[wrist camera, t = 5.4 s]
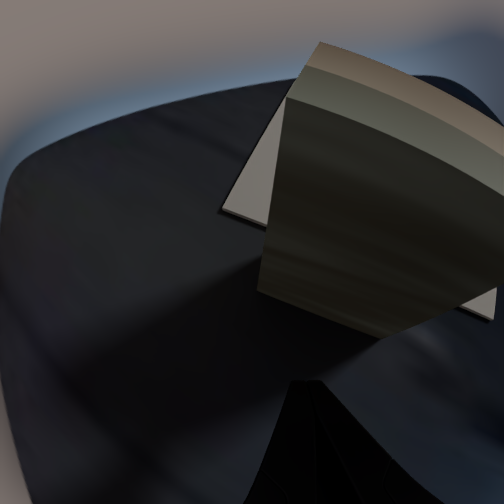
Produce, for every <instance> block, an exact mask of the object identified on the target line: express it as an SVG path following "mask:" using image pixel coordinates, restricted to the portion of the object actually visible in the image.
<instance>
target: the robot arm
mask: <svg viewBox="0 0 504 504" xmlns="http://www.w3.org/2000/svg"><path fill="white" fill-rule="evenodd" d="M391 459H392V457H391V456H390V455H389V454H388V453H387V452H386V451H385V450H384V448H383V447H382V446H381V445H380V444H379V443H378V442H377V441H376V440H375V439H374V438H373V437H372V436H371V435H370V434H369V432H368V431H367V430H366V429H365V428H364V427H363V426H362V425H361V424H360V423H359V422H358V421H357V419H356V418H355V417H354V416H353V415H352V414H351V413H350V412H349V411H348V410H347V409H346V407H345V406H344V405H343V404H342V403H341V402H340V401H339V400H338V399H337V397H336V396H335V395H334V394H333V393H332V392H331V391H330V390H329V389H328V387H327V386H326V385H325V384H324V383H323V382H322V381H320V380H308V381H304V380H294V381H291V383H290V386H289V389H288V392H287V395H286V398H285V400H284V403H283V406H282V409H281V412H280V415H279V418H278V420H277V423H276V426H275V429H274V431H273V434H272V437H271V440H270V442H269V445H268V448H267V450H266V453H265V455H264V458H263V461H262V463H261V466H260V468H259V471H258V473H257V475H256V478H255V480H254V483H253V485H252V487H251V489H250V491H249V494H248V496H247V498H246V499H245V501H244V503H243V504H444V503H443V502H441V501H440V500H439V499H438V498H436V497H435V496H434V495H432V494H431V493H430V492H429V491H427V490H426V489H425V488H424V487H422V486H421V485H420V484H419V483H418V482H416V481H415V480H414V479H413V478H412V477H411V476H410V475H409V474H408V473H407V472H406V471H405V470H404V469H403V468H402V467H401V466H400V465H399V464H398V463H397V462H396V461H395V460H394V459H392V460H391Z"/></svg>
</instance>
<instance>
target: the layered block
mask: <svg viewBox="0 0 504 504" xmlns="http://www.w3.org/2000/svg"><path fill="white" fill-rule="evenodd" d="M503 283H504V127H502V126H501V125H499V124H498V123H496V122H495V121H493V120H492V119H490V118H488V117H487V116H485V115H484V114H482V113H480V112H479V111H477V110H475V109H474V108H472V107H470V106H469V105H467V104H465V103H463V102H462V101H460V100H458V99H456V98H455V97H453V96H451V95H449V94H447V93H445V92H443V91H441V90H439V89H438V88H436V87H434V86H432V85H430V84H428V83H425V82H423V81H421V80H419V79H417V78H415V77H413V76H411V75H408V74H406V73H404V72H401V71H399V70H397V69H395V68H392V67H390V66H388V65H385V64H382V63H380V62H378V61H375V60H372V59H370V58H367V57H365V56H362V55H359V54H356V53H353V52H351V51H348V50H345V49H342V48H339V47H336V46H332V45H329V44H326V43H323V42H319V44H318V46H317V47H316V49H315V51H314V52H313V54H312V55H311V57H310V58H309V60H308V62H307V63H306V65H305V66H304V68H303V70H302V71H301V73H300V75H299V76H298V78H297V79H296V81H295V83H294V84H293V86H292V88H291V89H290V91H289V93H288V94H287V96H286V101H285V108H284V115H283V121H282V128H281V135H280V142H279V149H278V155H277V162H276V169H275V175H274V182H273V188H272V195H271V202H270V208H269V215H268V221H267V228H266V234H265V240H264V247H263V253H262V260H261V266H260V272H259V279H258V285H257V291H259V292H261V293H264V294H266V295H269V296H271V297H274V298H276V299H279V300H281V301H284V302H286V303H289V304H291V305H294V306H296V307H299V308H301V309H304V310H306V311H309V312H311V313H314V314H316V315H319V316H322V317H324V318H327V319H329V320H332V321H334V322H337V323H340V324H342V325H345V326H347V327H350V328H353V329H355V330H358V331H361V332H363V333H366V334H369V335H371V336H374V337H377V338H379V339H383V338H386V337H388V336H391V335H393V334H396V333H398V332H401V331H403V330H406V329H408V328H411V327H413V326H415V325H418V324H420V323H422V322H425V321H427V320H429V319H432V318H434V317H436V316H438V315H441V314H443V313H445V312H447V311H449V310H452V309H454V308H456V307H458V306H460V305H462V304H464V303H466V302H468V301H470V300H473V299H475V298H477V297H479V296H481V295H482V294H484V293H486V292H488V291H490V290H492V289H494V288H496V287H498V286H500V285H502V284H503Z"/></svg>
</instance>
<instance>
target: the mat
mask: <svg viewBox="0 0 504 504" xmlns="http://www.w3.org/2000/svg"><path fill="white" fill-rule="evenodd" d="M294 83H295V82H294ZM294 83H293V84H294ZM292 86H293V85H292ZM291 88H292V87H291ZM291 88H290V89H291ZM289 91H290V90H289ZM288 93H289V92H288ZM288 93H287V94H288ZM286 96H287V95H286ZM285 101H286V97H285V98H284V100H283V102H282V103H281V105H280V107H279V108H278V110H277V112H276V113H275V115H274V117H273V119H272V120H271V122H270V124H269V125H268V127H267V129H266V131H265V132H264V134H263V136H262V137H261V139H260V141H259V143H258V144H257V146H256V148H255V150H254V151H253V153H252V155H251V157H250V158H249V160H248V162H247V164H246V166H245V167H244V169H243V171H242V173H241V174H240V176H239V178H238V180H237V182H236V183H235V185H234V187H233V189H232V191H231V192H230V194H229V196H228V198H227V200H226V202H225V203H224V205H223V207H222V210H223V211H226V212H228V213H231V214H234V215H236V216H239V217H241V218H244V219H247V220H249V221H252V222H254V223H257V224H260V225H262V226H265V227H267V221H268V215H269V208H270V202H271V195H272V188H273V182H274V175H275V169H276V162H277V155H278V149H279V142H280V135H281V128H282V121H283V115H284V108H285ZM496 289H497V287H496V288H494V289H492V290H490V291H488V292H486V293H484V294H482V295H481V296H479V297H477V298H475V299H473V300H470V301H468V302H466V303H464V304H462V305H460V306H459V307H461V308H463V309H466V310H468V311H470V312H473V313H475V314H477V315H479V316H481V317H484V318H486V319H488V320H490V321H491V320H493V319H494V310H495V300H496Z"/></svg>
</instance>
